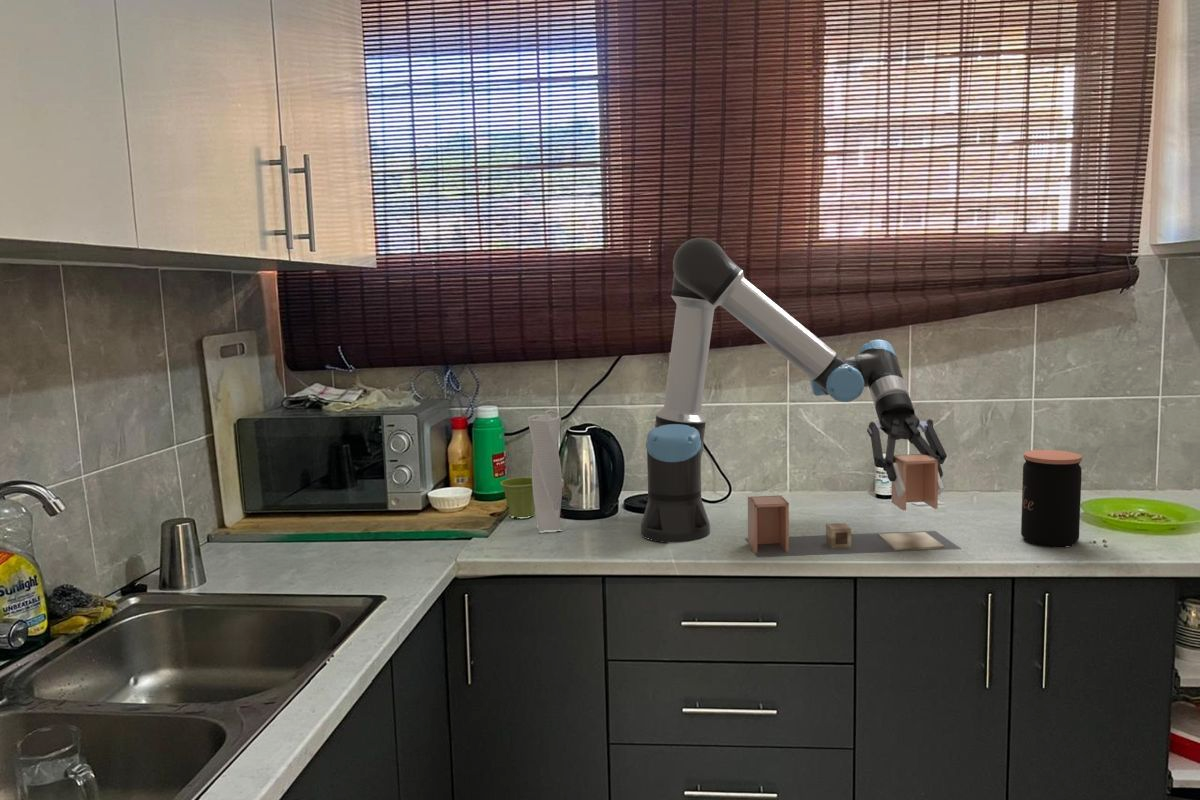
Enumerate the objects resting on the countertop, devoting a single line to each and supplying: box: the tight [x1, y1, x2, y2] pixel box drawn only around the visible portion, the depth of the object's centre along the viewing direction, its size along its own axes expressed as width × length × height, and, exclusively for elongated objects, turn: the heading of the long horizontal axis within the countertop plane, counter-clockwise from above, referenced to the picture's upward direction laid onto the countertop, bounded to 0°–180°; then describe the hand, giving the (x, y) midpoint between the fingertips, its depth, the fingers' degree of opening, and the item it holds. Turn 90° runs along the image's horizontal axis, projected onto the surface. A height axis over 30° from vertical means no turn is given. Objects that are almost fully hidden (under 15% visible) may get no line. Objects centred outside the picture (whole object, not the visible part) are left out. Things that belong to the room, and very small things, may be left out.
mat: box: [744, 530, 962, 558], centre depth 183 cm, size 41×13×1 cm, turn 92°
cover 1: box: [747, 495, 790, 554], centre depth 181 cm, size 7×6×10 cm
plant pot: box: [500, 477, 536, 517], centre depth 214 cm, size 9×9×9 cm
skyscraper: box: [527, 409, 563, 532], centre depth 200 cm, size 8×8×28 cm
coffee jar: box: [1020, 449, 1083, 548], centre depth 180 cm, size 11×11×18 cm
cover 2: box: [891, 453, 939, 511], centre depth 181 cm, size 7×6×10 cm
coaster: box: [878, 531, 945, 550], centre depth 183 cm, size 10×10×1 cm
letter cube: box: [825, 522, 852, 548], centre depth 182 cm, size 4×4×4 cm
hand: (920, 492), depth 178 cm, fingers closed on cover 2, 7 cm apart
